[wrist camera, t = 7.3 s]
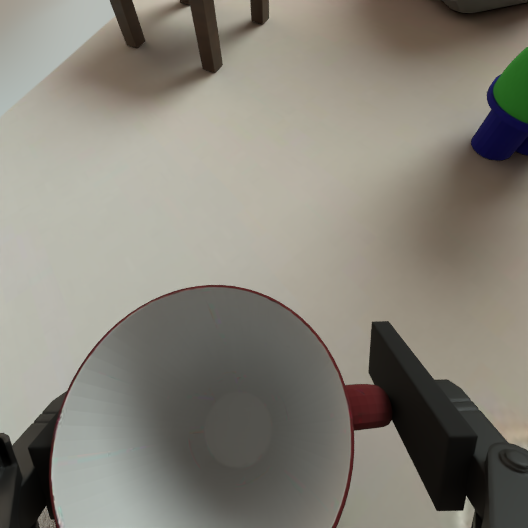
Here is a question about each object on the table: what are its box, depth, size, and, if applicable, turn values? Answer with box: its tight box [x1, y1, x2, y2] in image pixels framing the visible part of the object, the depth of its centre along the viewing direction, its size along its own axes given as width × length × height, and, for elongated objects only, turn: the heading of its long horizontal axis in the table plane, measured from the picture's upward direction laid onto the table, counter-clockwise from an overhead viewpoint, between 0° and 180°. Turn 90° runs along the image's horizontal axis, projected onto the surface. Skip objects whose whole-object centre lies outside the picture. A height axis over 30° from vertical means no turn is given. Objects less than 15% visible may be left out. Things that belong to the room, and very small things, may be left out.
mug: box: [49, 285, 393, 528], centre depth 13 cm, size 10×8×10 cm
